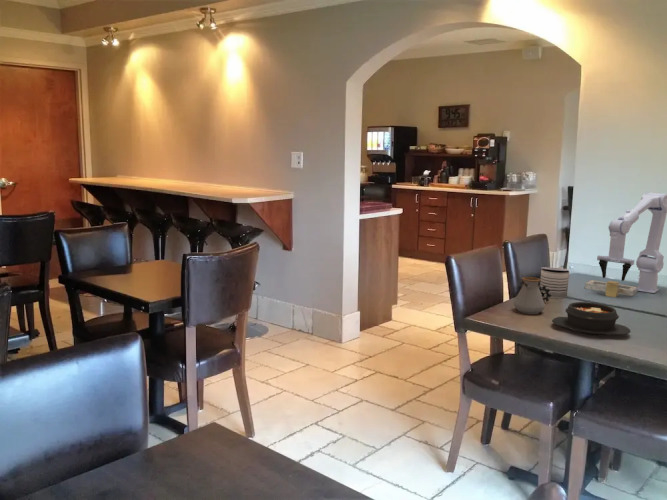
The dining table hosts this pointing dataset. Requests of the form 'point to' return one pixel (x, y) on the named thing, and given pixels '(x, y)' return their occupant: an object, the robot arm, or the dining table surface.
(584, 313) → the casserole
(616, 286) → the brass block
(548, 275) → the striped ceramic pot
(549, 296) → the black upright ornate piece
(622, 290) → the rail
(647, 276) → the robot arm
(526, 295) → the coffee pot
